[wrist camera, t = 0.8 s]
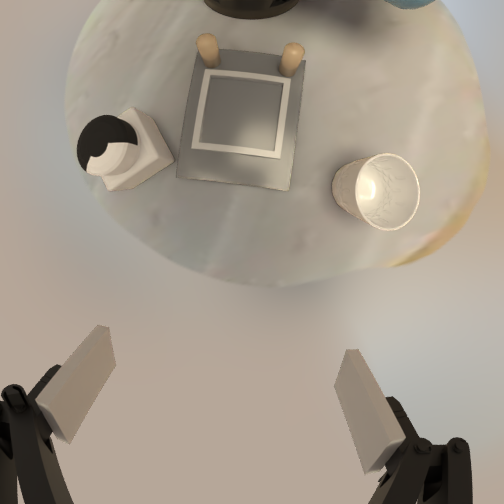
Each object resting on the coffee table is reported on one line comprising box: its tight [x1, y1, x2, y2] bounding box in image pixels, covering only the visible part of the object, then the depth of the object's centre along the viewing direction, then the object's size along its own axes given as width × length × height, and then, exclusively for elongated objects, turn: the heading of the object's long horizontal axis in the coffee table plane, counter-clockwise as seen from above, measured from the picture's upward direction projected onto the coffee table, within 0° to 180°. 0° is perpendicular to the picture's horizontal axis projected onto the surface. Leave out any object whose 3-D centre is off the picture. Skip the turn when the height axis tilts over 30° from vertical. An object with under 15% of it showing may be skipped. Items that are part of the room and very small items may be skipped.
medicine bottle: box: [77, 107, 174, 191], centre depth 27 cm, size 7×7×12 cm
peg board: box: [176, 33, 306, 191], centre depth 28 cm, size 18×14×7 cm
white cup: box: [332, 153, 420, 231], centre depth 30 cm, size 8×8×10 cm
